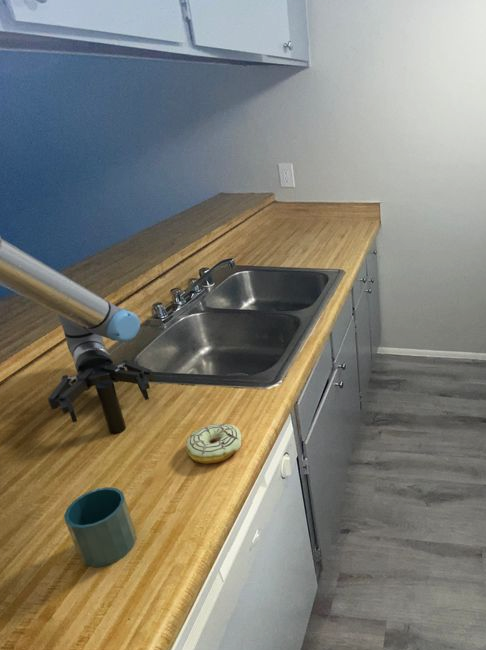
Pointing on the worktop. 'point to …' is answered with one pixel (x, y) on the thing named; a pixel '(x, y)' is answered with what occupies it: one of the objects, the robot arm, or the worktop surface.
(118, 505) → the cup
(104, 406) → the black cylinder
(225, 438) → the decorated donut
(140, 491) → the worktop surface
